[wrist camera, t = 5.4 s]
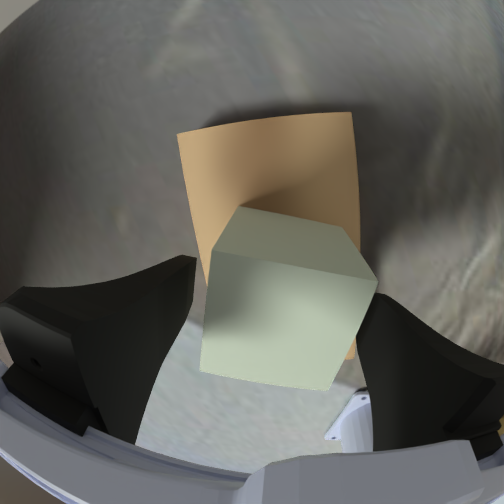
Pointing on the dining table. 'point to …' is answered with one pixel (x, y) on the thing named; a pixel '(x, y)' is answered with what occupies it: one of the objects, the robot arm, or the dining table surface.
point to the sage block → (283, 300)
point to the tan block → (272, 174)
